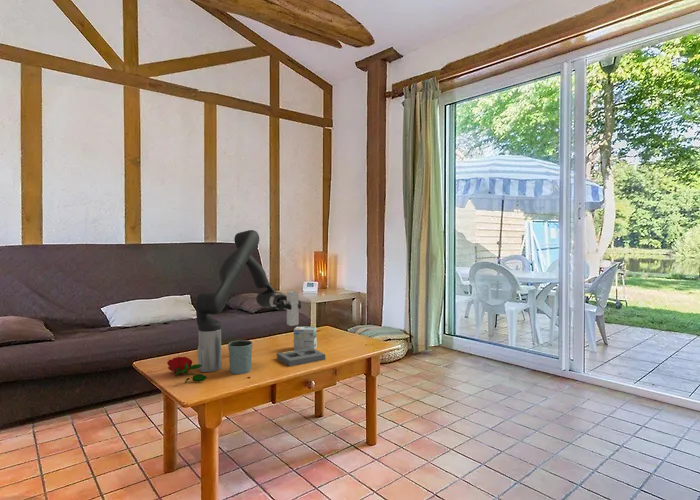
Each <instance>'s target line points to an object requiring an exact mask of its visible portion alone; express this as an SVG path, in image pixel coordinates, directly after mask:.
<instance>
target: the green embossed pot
mask: <svg viewBox="0 0 700 500" xmlns="http://www.w3.org/2000/svg"><path fill="white" fill-rule="evenodd" d="M227 348H228V358H229V372H230V373H231V374H233V375H243V374H247V373H250V372H251V370H252V357H253V356H252V355H253V341H251V340H248V339H247V340H243V339H241V340H239V339H237V340H232V341H230V342H228V345H227Z"/></svg>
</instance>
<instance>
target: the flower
mask: <svg viewBox="0 0 700 500" xmlns="http://www.w3.org/2000/svg"><path fill="white" fill-rule="evenodd" d="M167 366H168V367H167V369H168V370H169V371H171V372H173V371H174V373H175V375H174V377H177V376H178V375H180V374H183V375H189V376H191V377H187V378H186V379H185V381H184V384H186V383H187V382H188V381H190V380H192V382H194V381H201V382H203V381H205V380H206V379H207V378H208V377H207V375H205V374H202V373H197V374H195V373H189V372H191V370H197V369H198V368H200V367H201V366H202V365H200V364H198V363H196V364H193V360H192V359H190V358H189V357H187V356H176V357H173V358H172V359H169V360H168V361H167Z"/></svg>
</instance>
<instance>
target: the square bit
mask: <svg viewBox="0 0 700 500" xmlns="http://www.w3.org/2000/svg"><path fill="white" fill-rule="evenodd" d="M286 296H287V304H290V305H291V307H292V309H291V310H289V309H287V310H286V325H288V326H290V327H292V326H298V325H299V322H300V320H299V317H300V316H299V314H300V313H299V310H300V309H298V304H299V300H300V299H299V292H298V291H295V290H294V291H293V290H291V291H286Z"/></svg>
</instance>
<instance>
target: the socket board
mask: <svg viewBox="0 0 700 500" xmlns="http://www.w3.org/2000/svg"><path fill="white" fill-rule="evenodd" d="M276 359H277V360H279V361H280V362H282V363H283V364H285V365H287V366H288V367H294V366H299V365H304V364H310V363H314V362H319V361H326V353H324V352H322V351H320V350H317V349H313V348H306V349H300V350H294V349H293V350H289V351H283V352H277V353H276Z"/></svg>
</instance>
